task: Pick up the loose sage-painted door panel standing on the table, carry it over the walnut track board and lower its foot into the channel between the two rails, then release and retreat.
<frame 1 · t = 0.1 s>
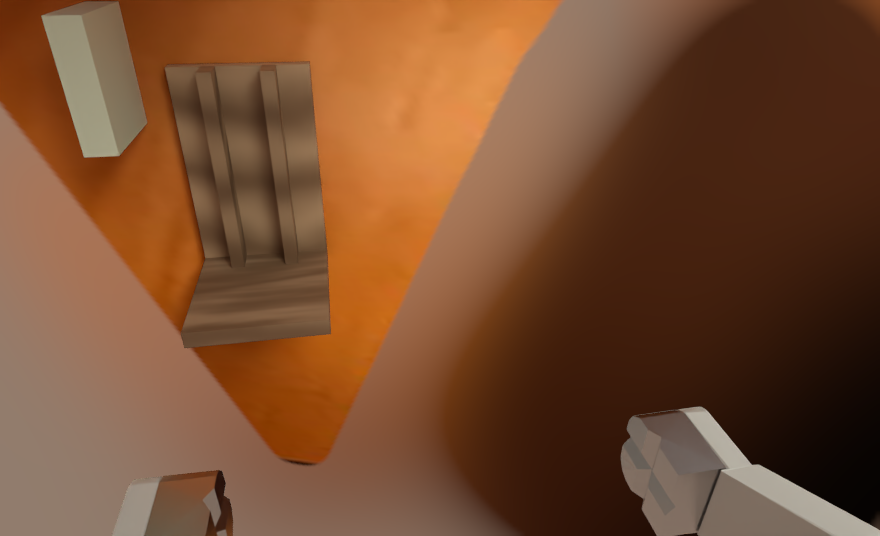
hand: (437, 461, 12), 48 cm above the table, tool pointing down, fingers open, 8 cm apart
track board: (256, 170, 56), on the table
door panel: (118, 65, 50), on the table
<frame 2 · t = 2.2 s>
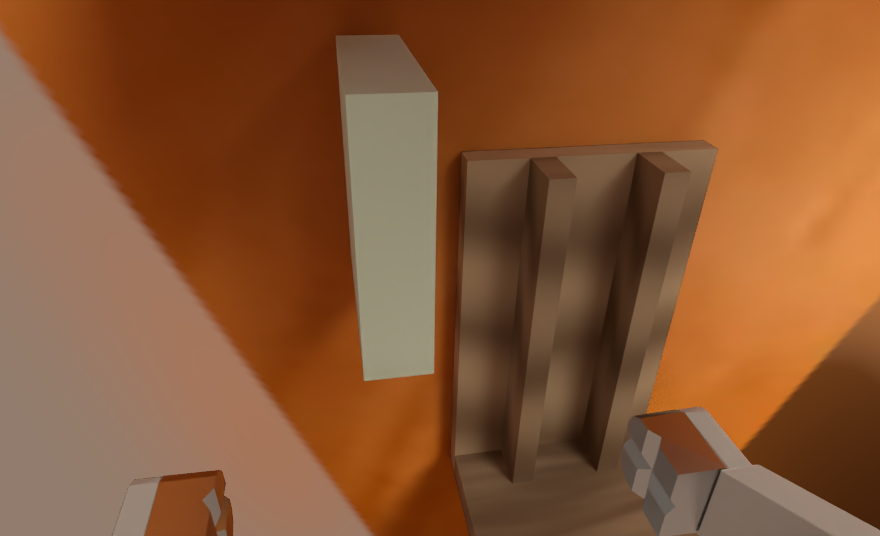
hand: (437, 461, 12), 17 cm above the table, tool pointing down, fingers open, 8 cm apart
track board: (560, 319, 33), on the table
door panel: (372, 155, 26), on the table
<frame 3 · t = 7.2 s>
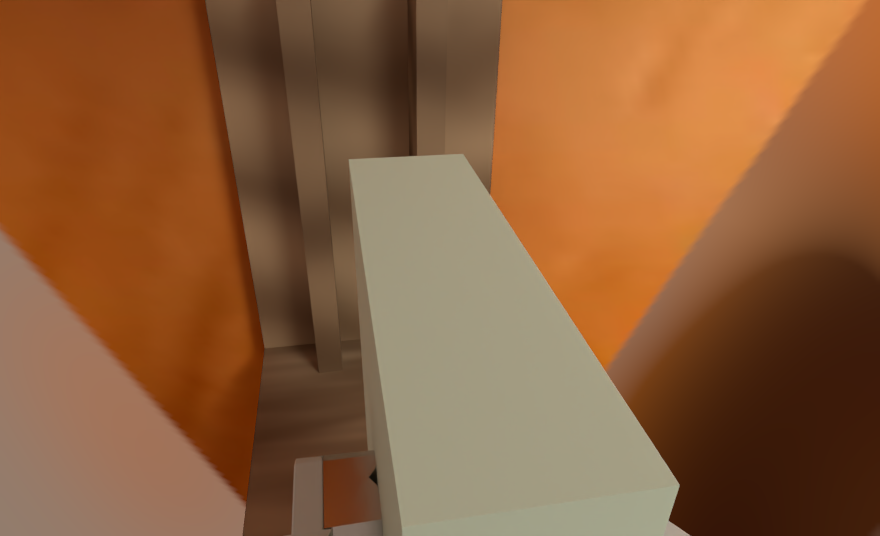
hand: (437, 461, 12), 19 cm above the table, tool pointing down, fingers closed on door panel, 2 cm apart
track board: (367, 185, 29), on the table
door panel: (409, 341, 15), point 15 cm above the table, touching gripper
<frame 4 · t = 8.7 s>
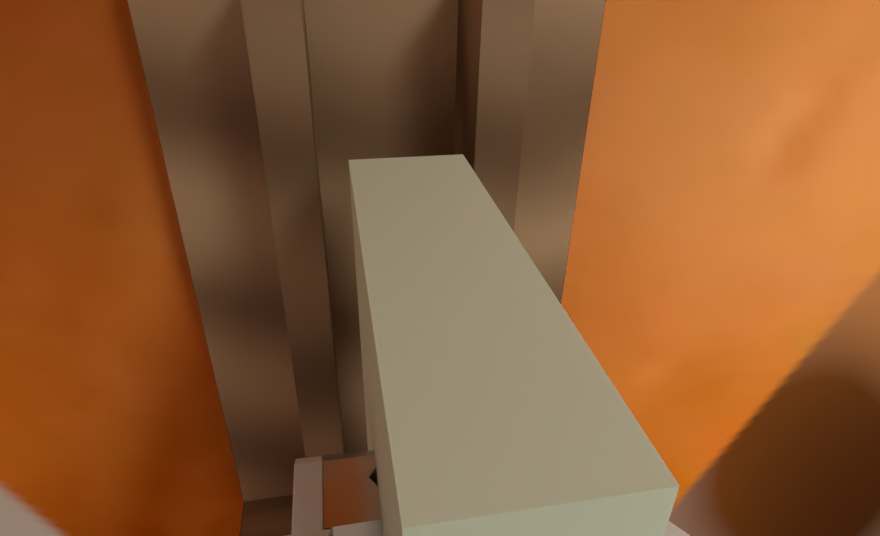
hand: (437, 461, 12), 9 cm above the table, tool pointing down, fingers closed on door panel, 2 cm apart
track board: (387, 288, 21), on the table
door panel: (409, 341, 15), point 5 cm above the table, touching gripper
when the fingers open (6 cm above the table, at t = 10.0 s): door panel stays where it is, resting on track board.
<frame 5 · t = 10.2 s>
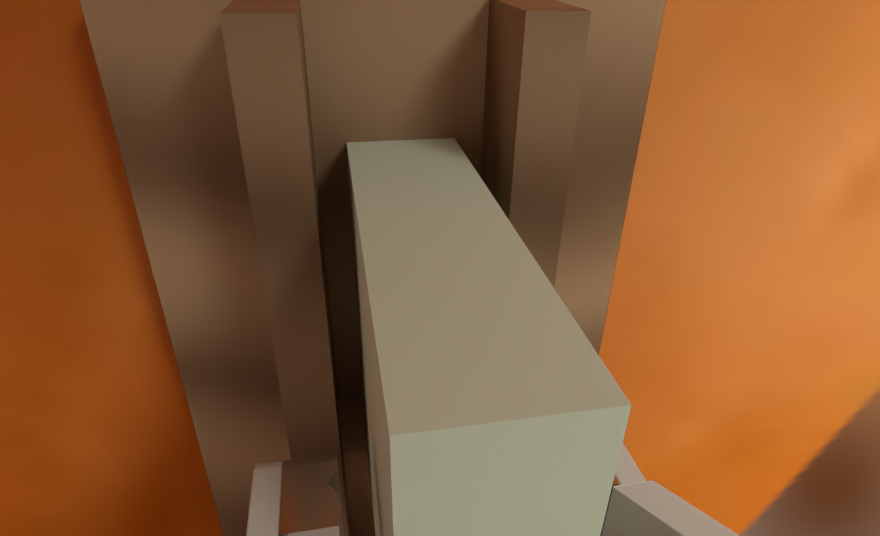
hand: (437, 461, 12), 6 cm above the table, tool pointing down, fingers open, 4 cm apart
track board: (399, 349, 18), on the table
door panel: (404, 318, 16), point 1 cm above the table, touching track board
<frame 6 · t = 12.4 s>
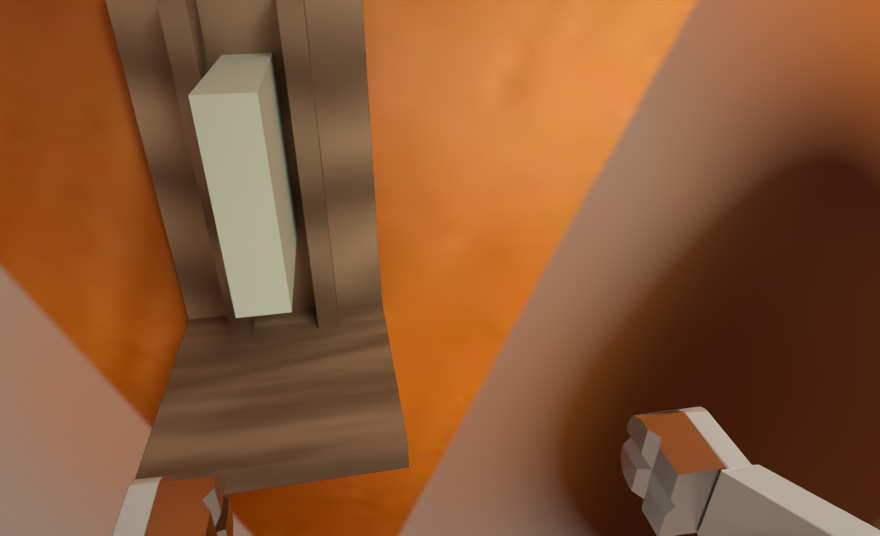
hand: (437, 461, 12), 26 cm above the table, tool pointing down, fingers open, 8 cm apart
track board: (268, 176, 34), on the table
door panel: (262, 149, 32), point 1 cm above the table, touching track board
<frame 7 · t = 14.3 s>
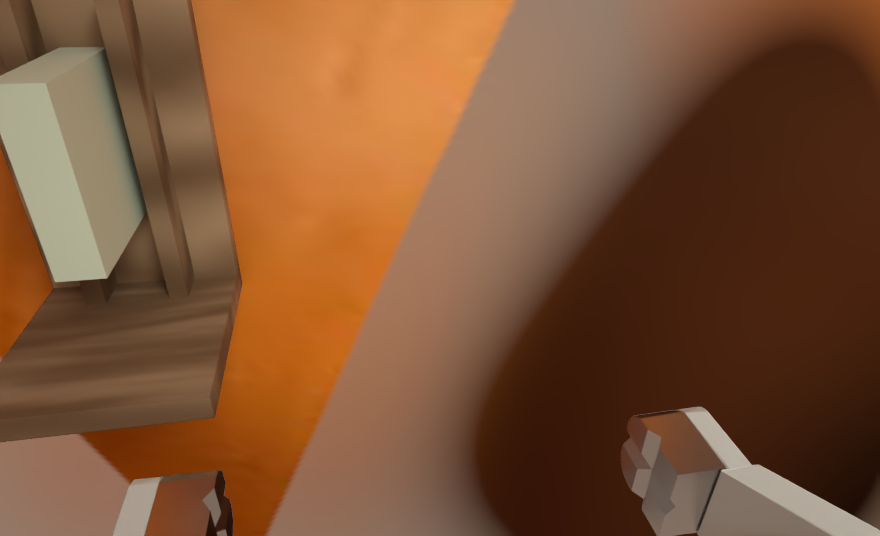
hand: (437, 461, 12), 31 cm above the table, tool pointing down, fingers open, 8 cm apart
track board: (121, 158, 38), on the table
door panel: (107, 133, 36), point 1 cm above the table, touching track board
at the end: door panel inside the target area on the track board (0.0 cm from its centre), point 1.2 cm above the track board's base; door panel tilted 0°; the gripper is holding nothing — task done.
